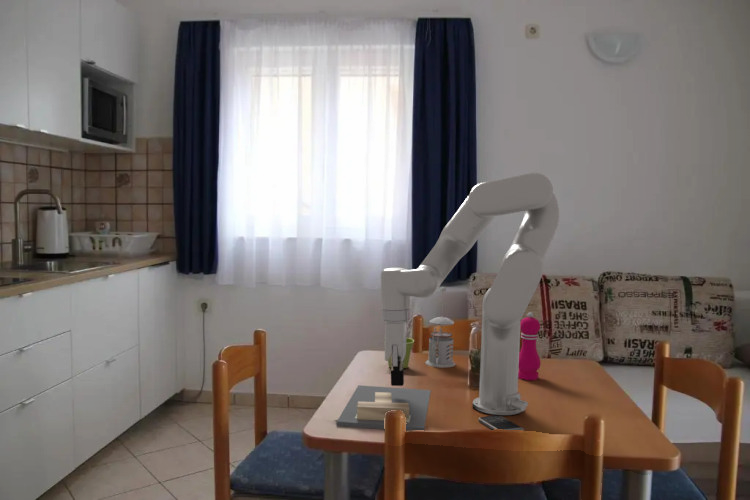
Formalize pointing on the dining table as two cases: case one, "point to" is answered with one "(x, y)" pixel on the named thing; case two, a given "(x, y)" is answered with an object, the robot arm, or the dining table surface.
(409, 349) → the plant pot
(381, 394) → the t block
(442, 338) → the french press
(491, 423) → the cell phone
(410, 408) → the mat
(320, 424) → the dining table surface
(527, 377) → the pepper mill
